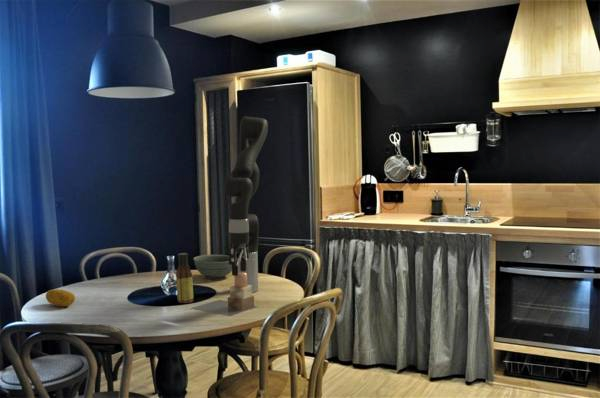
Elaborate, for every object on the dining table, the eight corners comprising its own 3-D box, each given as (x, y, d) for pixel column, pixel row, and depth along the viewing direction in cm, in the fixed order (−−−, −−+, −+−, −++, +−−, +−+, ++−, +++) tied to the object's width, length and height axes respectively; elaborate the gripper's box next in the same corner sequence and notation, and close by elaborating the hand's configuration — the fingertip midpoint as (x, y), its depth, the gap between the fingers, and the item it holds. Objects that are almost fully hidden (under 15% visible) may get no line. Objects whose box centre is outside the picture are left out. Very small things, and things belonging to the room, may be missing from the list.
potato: (61, 310, 218) (60, 293, 218) (42, 305, 226) (41, 288, 226) (79, 306, 224) (79, 289, 224) (60, 301, 233) (59, 285, 232)
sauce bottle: (196, 301, 230) (195, 252, 229) (188, 305, 224) (187, 255, 223) (182, 300, 232) (180, 252, 231) (173, 304, 226) (172, 254, 225)
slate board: (190, 310, 217) (190, 308, 217) (219, 301, 230) (219, 299, 230) (229, 318, 205) (229, 316, 205) (258, 308, 218) (258, 306, 218)
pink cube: (231, 286, 217) (231, 273, 216) (240, 284, 221) (240, 271, 220) (241, 288, 214) (241, 274, 214) (249, 285, 218) (249, 272, 218)
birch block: (230, 297, 216) (229, 287, 216) (238, 294, 222) (238, 284, 221) (243, 299, 214) (243, 288, 213) (251, 295, 219) (251, 285, 219)
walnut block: (228, 307, 217) (227, 297, 217) (240, 303, 223) (240, 293, 222) (242, 310, 213) (241, 299, 213) (254, 306, 219) (254, 295, 218)
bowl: (195, 274, 286) (194, 254, 286) (237, 273, 288) (237, 253, 288) (192, 283, 266) (191, 261, 265) (237, 281, 268) (237, 260, 267)
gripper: (241, 233, 208) (241, 277, 209) (254, 228, 222) (255, 270, 223) (222, 232, 210) (222, 276, 211) (236, 228, 224) (237, 269, 225)
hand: (239, 273), depth 217 cm, fingers open, 8 cm apart
